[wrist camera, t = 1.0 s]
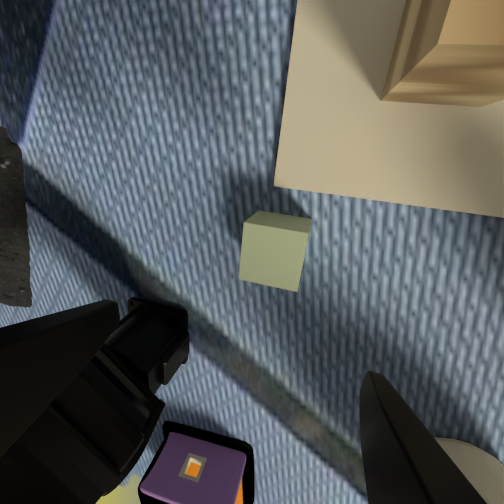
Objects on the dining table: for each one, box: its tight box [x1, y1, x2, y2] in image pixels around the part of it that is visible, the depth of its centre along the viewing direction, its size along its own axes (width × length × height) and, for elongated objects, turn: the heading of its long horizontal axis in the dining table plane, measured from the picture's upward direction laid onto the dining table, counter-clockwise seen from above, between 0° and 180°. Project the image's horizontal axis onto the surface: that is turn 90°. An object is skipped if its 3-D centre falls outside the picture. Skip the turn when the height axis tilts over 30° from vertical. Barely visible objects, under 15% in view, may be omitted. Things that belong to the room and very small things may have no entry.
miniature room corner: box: [138, 421, 255, 504], centre depth 29 cm, size 12×12×7 cm
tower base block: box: [380, 0, 504, 107], centre depth 11 cm, size 5×5×4 cm
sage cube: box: [239, 210, 312, 292], centre depth 18 cm, size 4×4×4 cm
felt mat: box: [274, 0, 504, 218], centre depth 13 cm, size 16×16×1 cm
